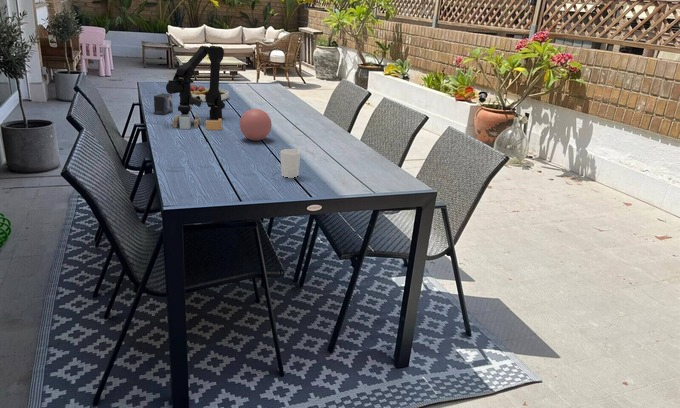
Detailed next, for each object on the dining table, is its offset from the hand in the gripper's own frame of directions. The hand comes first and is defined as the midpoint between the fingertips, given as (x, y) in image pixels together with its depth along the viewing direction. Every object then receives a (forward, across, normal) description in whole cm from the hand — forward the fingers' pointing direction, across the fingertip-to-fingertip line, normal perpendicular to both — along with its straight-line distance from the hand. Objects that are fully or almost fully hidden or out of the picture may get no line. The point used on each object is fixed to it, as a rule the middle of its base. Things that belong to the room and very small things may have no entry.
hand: (186, 121), depth 288 cm
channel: (+2, 0, 0) cm, 2 cm away
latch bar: (+2, -10, -15) cm, 18 cm away
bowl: (+2, +79, -6) cm, 79 cm away
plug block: (+2, -6, 0) cm, 7 cm away
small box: (+2, +28, +15) cm, 32 cm away
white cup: (+2, -88, -48) cm, 100 cm away
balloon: (+2, -29, -35) cm, 46 cm away
